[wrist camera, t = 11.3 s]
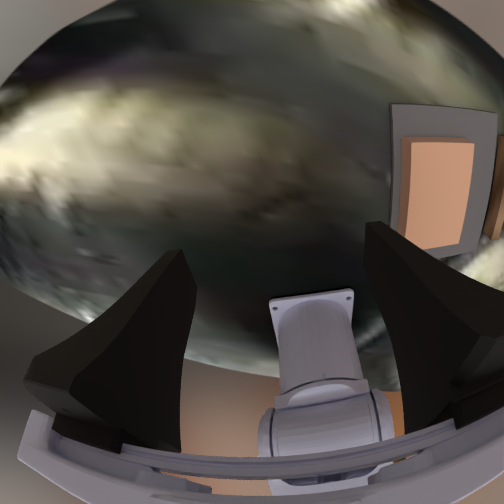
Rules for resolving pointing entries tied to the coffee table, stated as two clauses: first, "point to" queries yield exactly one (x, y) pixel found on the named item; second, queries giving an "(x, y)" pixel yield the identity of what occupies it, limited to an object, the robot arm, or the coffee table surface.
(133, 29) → the coffee table surface
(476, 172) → the mat
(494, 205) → the rack
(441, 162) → the tile
